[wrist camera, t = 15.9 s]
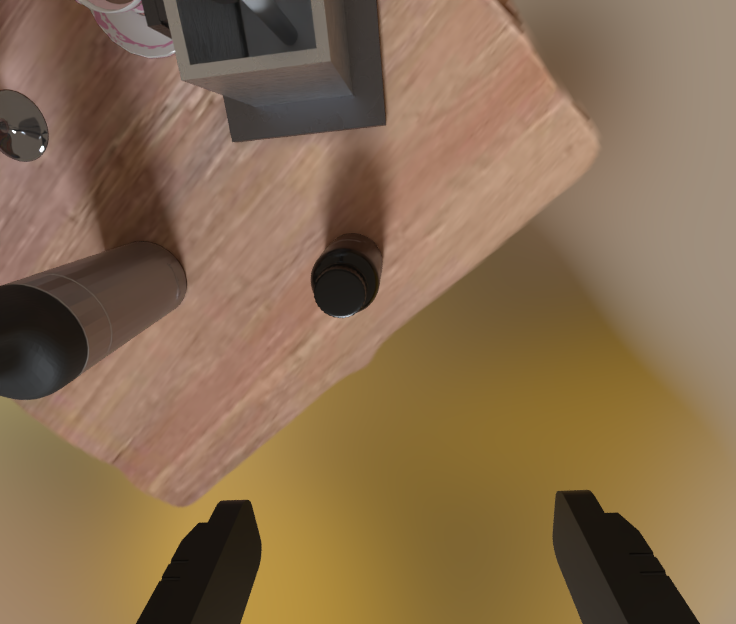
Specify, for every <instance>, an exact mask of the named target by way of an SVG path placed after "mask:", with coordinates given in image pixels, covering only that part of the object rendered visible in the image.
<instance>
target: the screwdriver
mask: <svg viewBox="0 0 736 624" xmlns="http://www.w3.org/2000/svg"><path fill="white" fill-rule="evenodd" d="M212 1H214V2H217V3H221V4H231V3H235V2H238V1H240V6H241V12H242V18H243V24H244V29H245V35H246V41H247V47H248V52H249V57H255V56H262V55H270V54H277V53H285V52H292V51H300V50H307V49H315V48H317V47H316V39H315V31H314V23H313V15H312V7H311V0H212Z"/></svg>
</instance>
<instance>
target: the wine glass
mask: <svg viewBox="0 0 736 624" xmlns="http://www.w3.org/2000/svg"><path fill="white" fill-rule="evenodd" d="M47 145H48V129H47V125H46V122H45V119H44V117H43V115H42V113H41V112H40V110H39V109H38V108H37V106H36V105H35V104H34V103H33V102H32V101H31V100H30V99H28V98H27V97H25V96H24V95H22V94H20V93H18V92H15V91H12V90H0V151H1V152H2V153H3V154H5V155H6V156H8V157H10V158H12V159H14V160H17V161H23V162H29V161H33V160H36V159H38V158H39V157H40V156H41V155H42V154H43V153H44V152H45V150H46V147H47Z"/></svg>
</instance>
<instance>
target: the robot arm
mask: <svg viewBox="0 0 736 624" xmlns="http://www.w3.org/2000/svg"><path fill="white" fill-rule="evenodd" d="M185 293H186V277H185V274H184V271H183V269H182V267H181V265H180V264H179V262H178V261H177V259H176V258H175V257H174V256H173V255H172V254H171V253H170V252H168V251H167V250H166V249H164V248H163V247H161V246H159V245H157V244H153V243H150V242H143V241H140V242H133V243H130V244H126V245H123V246H120V247H117V248H114V249H111V250H107V251H104V252H101V253H98V254H95V255H92V256H89V257H86V258H83V259H80V260H77V261H74V262H71V263H68V264H65V265H62V266H59V267H56V268H53V269H50V270H47V271H44V272H41V273H38V274H34V275H32V276H29V277H26V278H23V279H20V280H17V281H14V282H11V283H8V284H5V285H2V286H0V396H3V397H7V398H12V399H19V400H31V399H38V398H42V397H45V396H48V395H50V394H52V393H54V392H56V391H58V390H59V389H61V388H63V387H64V386H65V385H67V384H68V383H70V382H71V381H73V380H74V379H75V378H77V377H78V376H80V375H81V374H82V373H84V372H85V371H87V370H88V369H90V368H91V367H92V366H94V365H95V364H97V363H98V362H99V361H101V360H102V359H104V358H105V357H107V356H108V355H109V354H111V353H112V352H114V351H115V350H117V349H118V348H119V347H121V346H122V345H124V344H125V343H127V342H128V341H130V340H131V339H132V338H134V337H135V336H137V335H138V334H140V333H141V332H142V331H144V330H145V329H147V328H148V327H150V326H151V325H153V324H154V323H155V322H157V321H158V320H160V319H161V318H163V317H164V316H166V315H167V314H168V313H170V312H171V311H173V310H174V309H176V308H177V307H178V306H179V305H180V304H181V302H182V300H183V299H184V296H185ZM553 545H554V550H555V555H556V558H557V561H558V564H559V566H560V569H561V571H562V574H563V577H564V579H565V581H566V584H567V586H568V589H569V591H570V593H571V596H572V599H573V601H574V604H575V606H576V608H577V611H578V614H579V616H580V619H581V621H582V623H583V624H700V623H699V622H698V620H697V619H696V617H695V616H694V614H693V613H692V611H691V609H690V608H689V606H688V605H687V603H686V602H685V600H684V599H683V597H682V596H681V594H680V593H679V591H678V590H677V588H676V587H675V585H674V583H673V582H672V580H671V579H670V577H669V576H667V575H666V573H665V570H664V568H663V567H662V565H661V564H660V562H659V561H658V559H657V558H656V557H654V555H653V551H652V550H651V548H650V547H649V546H648V544H647V542H646V541H645V539H644V538H643V536H642V535H641V533H640V532H639V531H638V530H637V529H636V528H635V527H634V526H633V525H631V524H630V523H629V522H628V521H627V520H626V519H625V518H623V517H622V516H621V515H620V514H619V513H604V511H603V509H602V508H601V506H600V504H599V502H598V501H597V499H596V497H595V496H594V495H593V493H592V492H591V491H589V490H577V491H576V490H574V491H557V493H556V499H555V511H554V523H553ZM260 560H261V539H260V535H259V531H258V528H257V523H256V520H255V515H254V512H253V508H252V504H251V502H250V501H249V500H227V501H220V502H219V503H218V504H217V506H216V507H215V510H214V511H213V513H212V515H211V517H210V519H209V521H208V522H207V523H198V524H197V525H196V526H195V527H194V528H193V529H192V531H190V532H189V533H188V535H187V536H186V537H185V538H184V539H183V540H182V541H181V543H180V545H179V547H178V548H177V550H176V552H175V554H174V556H173V557H172V559H171V564H169V565H168V567H167V569H166V570H165V572H164V574H163V576H162V580H161V581H159V583H158V585H157V586H156V588H155V590H154V592H153V594H152V596H151V597H150V599H149V601H148V603H147V605H146V606H145V608H144V610H143V612H142V614H141V616H140V618H139V619H138V621H137V623H136V624H240V623H241V620H242V617H243V614H244V611H245V607H246V605H247V602H248V599H249V596H250V593H251V590H252V586H253V583H254V580H255V577H256V574H257V571H258V568H259V565H260Z"/></svg>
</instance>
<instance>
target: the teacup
mask: <svg viewBox="0 0 736 624" xmlns="http://www.w3.org/2000/svg"><path fill="white" fill-rule="evenodd" d="M75 1H76V2H77V3H79V4H83V5H84V6H86V7H88V8H89V9H90V11H91V13H92V15H93V16H94V18H95V20H96V22H97V24H98V25H99V26H100V28H101V29H102V30H103V31H104V32H105V33H106V34H107V35H108V37H109V38H110V39H111V40H112V41H113V42H114V43H116V44H118V45H119V46H121V47H122V48H124V49H125V50H127V51H128V52H130V53H132V54H136V55H139V56H143V57H147V58H161V57H169V56H171V55H173V54H175V50H174V45H173V41H172V39H170V38H169V37H167V36H165V35H163V34H161V33H159V32H157V31H155V30H153V29H152V28H150V27H148V26H147V22H146V18H145V16H144V15H140V14H139V13H144V10H143V5H142V1H141V0H75Z"/></svg>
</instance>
